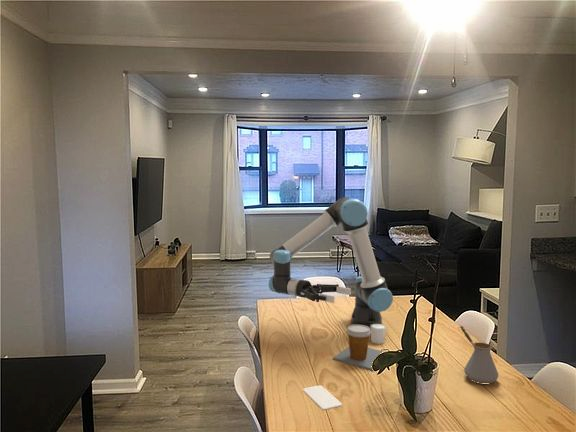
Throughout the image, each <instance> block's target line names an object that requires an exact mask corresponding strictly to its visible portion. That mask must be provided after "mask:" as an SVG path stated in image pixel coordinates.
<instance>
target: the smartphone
mask: <svg viewBox="0 0 576 432" xmlns="http://www.w3.org/2000/svg"><path fill="white" fill-rule="evenodd" d="M302 390H303V392H304V393H305V394H306V395H307V396H308V397H309V398H310V399H311V400H312V401H313V402H314V403H315V404H316V405H317V406H318V407H319V408H320V409H321V410H322V411H326V410H331V409H336V408H339V407H341V406H343V404H342V402H341V401H340V400H339V399H337V398H336V397H335V396H334V395H333V394H332V393H331V392H330V391H328V390H327V389H326V388H325V387H324V386H323V385H321V384H319V385H315V386H309V387H305V388H303V389H302Z"/></svg>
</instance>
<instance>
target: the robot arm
mask: <svg viewBox="0 0 576 432" xmlns="http://www.w3.org/2000/svg"><path fill="white" fill-rule="evenodd" d="M339 225H341V227H342V230H343V232H345V233H346V234H348V238H349V241H350V244H351V247H352V251H353V254H354V258H355V260H356V265H357V267H358V272H359V274H360V276H357V277H356V278H355V283H354V285H355V290H354V291H355V292H354V294H355V296H354V297H355V300H354V301H355V302H354V303H355V304H354V308H353V311H352V313H351V317H350V318H351V323H353V325H364V326H367V327H371V326H370V325H372V324H382V323H383V317H382V314H381V312H385V311H387V310H388V309H389V308H390V307H391V306H392V303H393V301H394V296H393V294H392V291H391V290H390V289H388V285H387V283H386V282H387V281H386V279H385V277H382V276H381V273H380V271H379V267H378V263H377V260H376V257H375V253H374V249H373V247H372V243H371V240H370V236H369V234H368V229H367V227H368V226H369V222H368V208H367V206H366V204H365V203H364V202H363V201H362V200H360V199H356V198H351V197H342V198H339V199H338V200H336V201H335V202H334V203H332V204H331V205H330V206H328V208H325V210H323V214H321V215H320V216H318V218H316V219H315V220H314V221H312V222H311V223H309V224H308V225H307V226H306V227H304V228H303V229H301V230H300V231H299V232H298V233H296V234H295V235H294V236H293V237H291V238H290V239H288V240H287V241H286V242H285V243H283V244H282V245H281V246H279V247H278V248H274V249H272V250H271V251H270V253H269V261H270V263H271V264H272V265H273V275H272V276H271V277H270V278H269V282H268V289H269V290H270V291H271V292H274V293H277V294H282V295H283V294H284V295H289V296H293V297H294V298H296V297H299V298H302V299H303V298H304V299H308V300H310V301H311V302H316V303H319V302H320V301H321V302H327V303H332V304H334V303H335V295H330V294H327V293H336V294H341V295H346V296H351V295H352V294H351V291H352V288H351V287H350V288H349V287H343V286H340V285H339V284H338V283H336V284H326V283H325V284H323V283H321V284H320V283H317V284H312V282H311V281H309V280H308V279H307V280H305V279H300V278H292V277H291V259H292V258H294V257H295V256H296V255H297V254H299V253H300V252H302V250H304V249H305V248H306V247H308V246H309V245H310V244H312V243H313V242H314V241H316V240H317V239H318V238H320V237H322V235H323V234H325V233H326V232H328V231H329V230H331V228H333V227H335V228H337V227H338V226H339Z"/></svg>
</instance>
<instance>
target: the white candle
mask: <svg viewBox="0 0 576 432" xmlns="http://www.w3.org/2000/svg"><path fill="white" fill-rule="evenodd" d="M369 327H370V331H371V334H370V339H371V343H373V344H379V345H381V344H384V343H385V341H386V340H385V339H386V338H385V337H386V331H387V326H386V325H385V324H382V323H381V324H372V325H370V326H369Z"/></svg>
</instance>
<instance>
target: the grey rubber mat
mask: <svg viewBox="0 0 576 432" xmlns="http://www.w3.org/2000/svg"><path fill="white" fill-rule="evenodd" d="M382 352H385V351H383V350H379V349H375V348H372V347H368V349H367V356H366V359H365V360H354V359H352V358H351V357H350V348H349V346H348V347H347V348H345V349H344V350H342V351H340V352H339V353H338V354H336V355H334V356H333V357H332V360H334V361H337V362H339V363H340V362H341V363H345V364H348V365H351V366H355V367H359V368H362V369H365V370H368V371H371V370H372V367H371V366H372V362H373V361H374V359H375V358H376V357H377V356H378V355H379V354H380V353H382Z"/></svg>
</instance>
